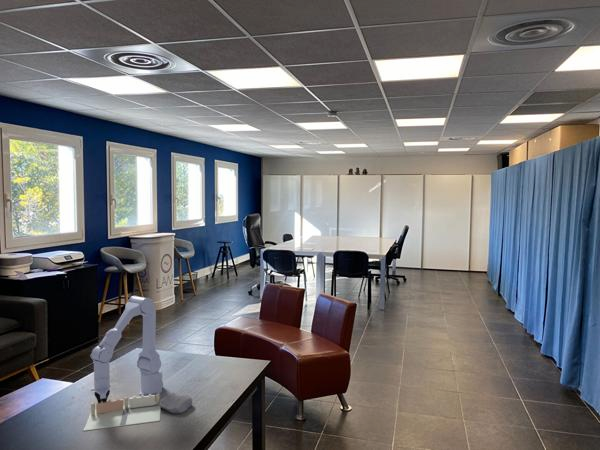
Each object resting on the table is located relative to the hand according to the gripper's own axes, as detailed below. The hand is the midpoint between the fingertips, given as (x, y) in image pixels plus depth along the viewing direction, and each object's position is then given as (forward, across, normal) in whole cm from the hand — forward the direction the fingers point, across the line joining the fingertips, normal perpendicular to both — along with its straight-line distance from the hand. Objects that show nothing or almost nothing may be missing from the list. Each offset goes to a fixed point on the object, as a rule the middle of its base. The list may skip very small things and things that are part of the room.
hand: (102, 408), depth 172 cm
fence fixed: (+1, +3, +15) cm, 15 cm away
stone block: (+1, +10, +27) cm, 28 cm away
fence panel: (+1, +2, +2) cm, 3 cm away
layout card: (+1, +7, +8) cm, 11 cm away
